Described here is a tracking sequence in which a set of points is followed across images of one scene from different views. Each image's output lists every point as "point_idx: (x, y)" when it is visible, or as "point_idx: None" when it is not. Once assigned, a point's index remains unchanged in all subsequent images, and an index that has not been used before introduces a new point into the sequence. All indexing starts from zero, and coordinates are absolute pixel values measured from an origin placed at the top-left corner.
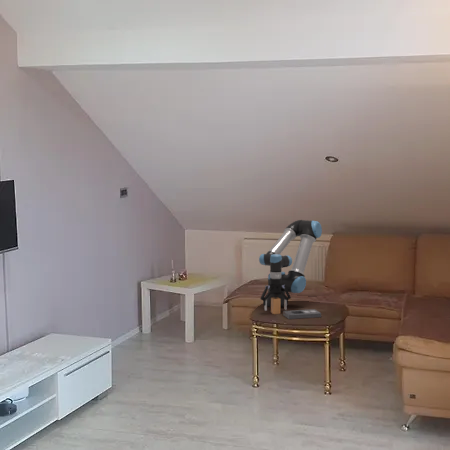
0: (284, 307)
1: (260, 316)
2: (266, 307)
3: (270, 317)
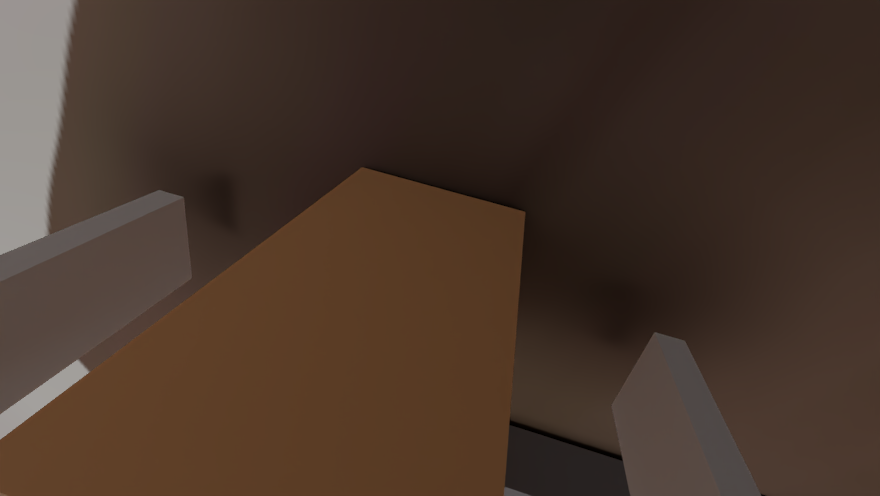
0: (655, 379)
1: None
2: (125, 318)
3: None
